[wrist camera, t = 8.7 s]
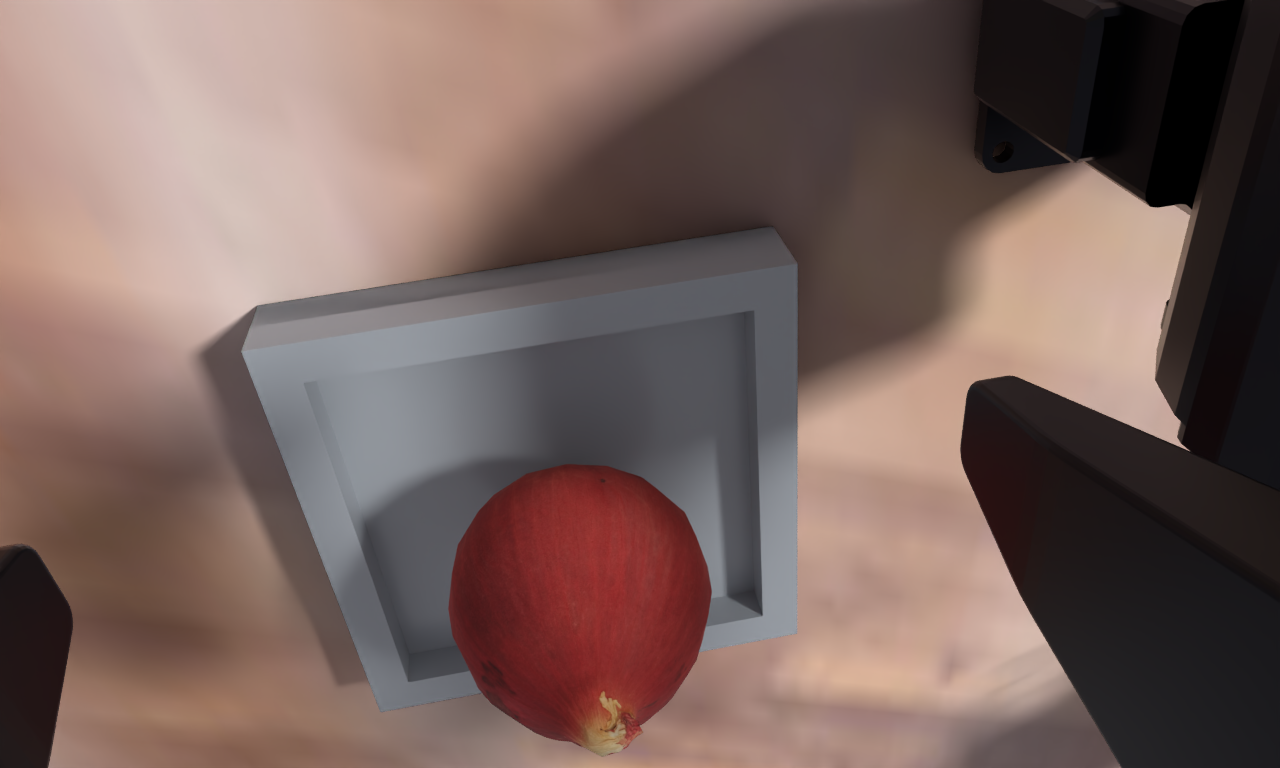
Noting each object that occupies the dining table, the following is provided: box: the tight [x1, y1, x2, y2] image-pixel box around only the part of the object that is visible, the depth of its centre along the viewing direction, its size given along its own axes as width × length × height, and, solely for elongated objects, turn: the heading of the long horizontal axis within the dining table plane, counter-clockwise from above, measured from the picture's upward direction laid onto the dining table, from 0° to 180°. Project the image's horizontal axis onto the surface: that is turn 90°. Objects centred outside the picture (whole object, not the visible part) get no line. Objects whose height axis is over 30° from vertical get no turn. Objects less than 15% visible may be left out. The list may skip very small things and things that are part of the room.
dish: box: [241, 226, 798, 712], centre depth 25 cm, size 12×12×2 cm
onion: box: [448, 464, 712, 757], centre depth 21 cm, size 6×6×8 cm
